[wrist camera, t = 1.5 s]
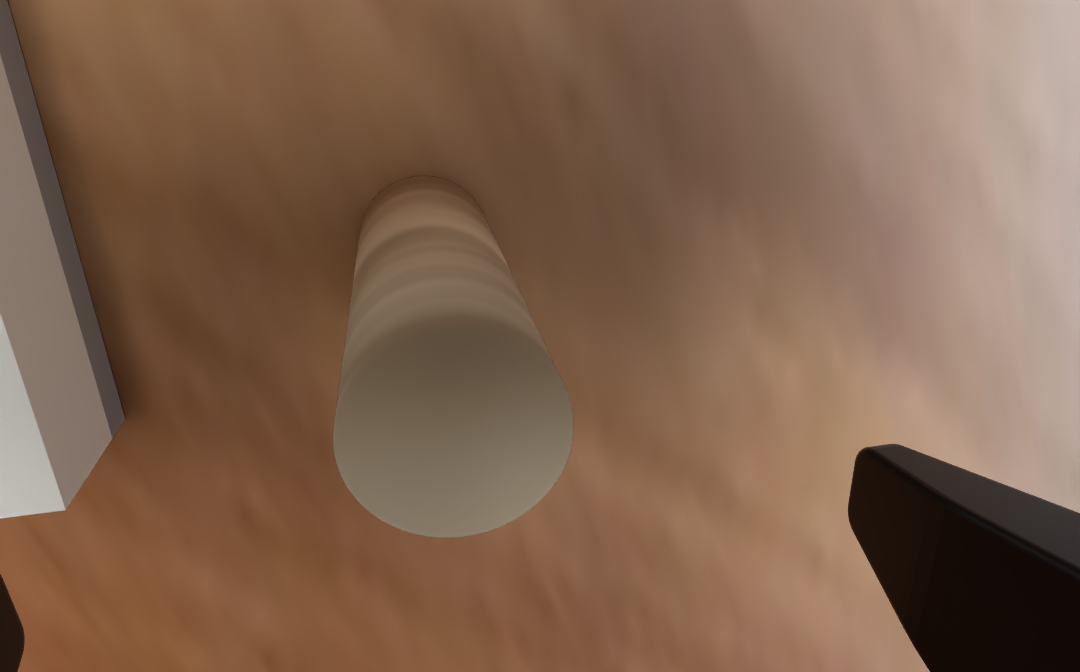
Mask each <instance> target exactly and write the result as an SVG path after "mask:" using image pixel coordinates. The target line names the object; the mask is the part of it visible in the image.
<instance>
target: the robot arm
mask: <svg viewBox="0 0 1080 672" xmlns="http://www.w3.org/2000/svg"><path fill="white" fill-rule="evenodd" d="M848 517H849V522H850V525H851V528H852V530H853V532H854V534H855V536H856V538H857V540H858V542H859V544H860V546H861V547H862V549H863V551H864V553H865V555H866V557H867V559H868V561H869V563H870V565H871V567H872V568H873V570H874V572H875V574H876V576H877V578H878V580H879V582H880V584H881V586H882V588H883V589H884V591H885V593H886V595H887V597H888V599H889V601H890V603H891V605H892V607H893V609H894V610H895V612H896V614H897V616H898V618H899V620H900V622H901V624H902V626H903V628H904V629H905V631H906V633H907V635H908V636H909V638H910V640H911V642H912V644H913V645H914V647H915V649H916V650H917V652H918V653H919V655H920V657H921V658H922V660H923V661H924V663H925V665H926V666H927V668H928V669H929V671H930V672H1080V513H1078V512H1075V511H1072V510H1070V509H1067V508H1065V507H1062V506H1059V505H1057V504H1054V503H1051V502H1049V501H1046V500H1044V499H1041V498H1038V497H1036V496H1033V495H1030V494H1028V493H1025V492H1023V491H1020V490H1017V489H1015V488H1012V487H1009V486H1007V485H1004V484H1002V483H999V482H996V481H994V480H991V479H988V478H986V477H983V476H980V475H978V474H975V473H973V472H970V471H967V470H965V469H962V468H959V467H957V466H954V465H952V464H949V463H946V462H944V461H941V460H938V459H936V458H933V457H931V456H928V455H925V454H923V453H920V452H917V451H915V450H912V449H910V448H907V447H904V446H902V445H898V444H887V445H880V446H873V447H866V448H864V449H862V450H861V451H860V452H859V453H858V455H857V456H856V460H855V465H854V471H853V478H852V484H851V491H850V497H849V503H848ZM23 651H24V631H23V627H22V624H21V621H20V619H19V616H18V614H17V612H16V609H15V607H14V604H13V602H12V600H11V597H10V595H9V593H8V590H7V588H6V585H5V583H4V581H3V578H2V576H1V575H0V672H18V668H19V665H20V662H21V658H22V655H23Z"/></svg>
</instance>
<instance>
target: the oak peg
mask: <svg viewBox="0 0 1080 672" xmlns="http://www.w3.org/2000/svg"><path fill="white" fill-rule="evenodd" d="M573 431H574V420H573V410H572V406H571V402H570V398H569V395H568V393H567V391H566V388H565V386H564V384H563V382H562V379H561V377H560V375H559V373H558V371H557V369H556V367H555V365H554V362H553V360H552V358H551V356H550V354H549V352H548V350H547V348H546V345H545V343H544V341H543V339H542V337H541V335H540V333H539V331H538V328H537V326H536V324H535V322H534V320H533V318H532V316H531V314H530V312H529V309H528V307H527V305H526V303H525V301H524V299H523V297H522V295H521V292H520V290H519V288H518V286H517V284H516V282H515V280H514V278H513V275H512V273H511V271H510V269H509V267H508V265H507V263H506V261H505V258H504V256H503V254H502V252H501V250H500V248H499V246H498V244H497V242H496V239H495V237H494V235H493V233H492V231H491V229H490V227H489V225H488V222H487V220H486V218H485V216H484V214H483V212H482V210H481V208H480V207H479V205H478V203H477V202H476V201H475V200H474V198H473V197H472V196H471V195H470V194H469V193H468V192H467V191H465V190H464V189H463V188H461V187H460V186H458V185H456V184H455V183H453V182H450V181H448V180H445V179H442V178H438V177H432V176H416V177H409V178H406V179H402V180H400V181H397V182H395V183H393V184H391V185H390V186H388V187H386V188H385V189H384V190H382V191H381V192H380V193H379V194H378V195H377V196H376V197H375V198H374V199H373V201H372V202H371V203H370V205H369V206H368V208H367V210H366V212H365V214H364V217H363V219H362V223H361V228H360V234H359V242H358V249H357V257H356V264H355V272H354V279H353V287H352V294H351V301H350V309H349V316H348V324H347V331H346V339H345V346H344V354H343V361H342V368H341V376H340V383H339V391H338V398H337V406H336V413H335V421H334V431H333V446H334V455H335V459H336V463H337V467H338V469H339V472H340V474H341V477H342V479H343V481H344V483H345V484H346V486H347V488H348V489H349V491H350V492H351V493H352V495H353V496H354V497H355V498H356V500H357V501H358V502H359V503H360V504H361V505H362V506H363V507H364V508H365V509H367V510H368V511H369V512H370V513H371V514H373V515H374V516H376V517H377V518H379V519H380V520H382V521H383V522H385V523H387V524H389V525H391V526H393V527H395V528H398V529H401V530H403V531H406V532H409V533H413V534H417V535H421V536H429V537H438V538H454V537H465V536H471V535H476V534H481V533H484V532H487V531H490V530H494V529H496V528H498V527H501V526H503V525H505V524H508V523H510V522H511V521H513V520H515V519H517V518H518V517H520V516H522V515H523V514H524V513H526V512H527V511H529V510H530V509H531V508H533V507H534V506H535V505H536V504H537V503H538V502H539V501H540V500H541V499H543V498H544V496H545V495H546V494H547V493H548V492H549V491H550V489H551V488H552V487H553V486H554V484H555V483H556V481H557V480H558V478H559V477H560V475H561V473H562V471H563V469H564V467H565V465H566V463H567V460H568V457H569V454H570V451H571V446H572V441H573Z"/></svg>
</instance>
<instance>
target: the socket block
mask: <svg viewBox="0 0 1080 672" xmlns="http://www.w3.org/2000/svg"><path fill="white" fill-rule="evenodd" d="M124 420H125V417H124V414H123V410H122V406H121V403H120V399H119V396H118V392H117V389H116V385H115V382H114V378H113V374H112V371H111V367H110V364H109V360H108V357H107V353H106V349H105V346H104V342H103V339H102V335H101V332H100V328H99V325H98V321H97V317H96V314H95V310H94V307H93V303H92V300H91V296H90V293H89V289H88V285H87V282H86V278H85V275H84V271H83V268H82V264H81V261H80V257H79V253H78V250H77V246H76V243H75V239H74V236H73V232H72V229H71V225H70V221H69V218H68V214H67V211H66V207H65V204H64V200H63V197H62V193H61V189H60V186H59V182H58V179H57V175H56V172H55V168H54V164H53V161H52V157H51V154H50V150H49V147H48V143H47V140H46V136H45V132H44V129H43V125H42V122H41V118H40V115H39V111H38V108H37V104H36V100H35V97H34V93H33V90H32V86H31V83H30V79H29V76H28V72H27V68H26V65H25V61H24V58H23V54H22V51H21V47H20V44H19V40H18V36H17V33H16V29H15V26H14V22H13V19H12V15H11V12H10V8H9V4H8V1H7V0H0V519H1V518H8V517H16V516H24V515H32V514H40V513H47V512H55V511H63V510H66V509H67V507H68V506H69V504H70V503H71V501H72V500H73V498H74V497H75V495H76V494H77V492H78V491H79V489H80V488H81V486H82V484H83V483H84V481H85V480H86V478H87V477H88V475H89V474H90V472H91V471H92V469H93V468H94V466H95V465H96V463H97V461H98V460H99V458H100V457H101V455H102V454H103V452H104V451H105V449H106V448H107V446H108V445H109V443H110V442H111V440H112V438H113V437H114V435H115V434H116V432H117V431H118V429H119V428H120V426H121V425H122V423H123V422H124Z"/></svg>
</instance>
